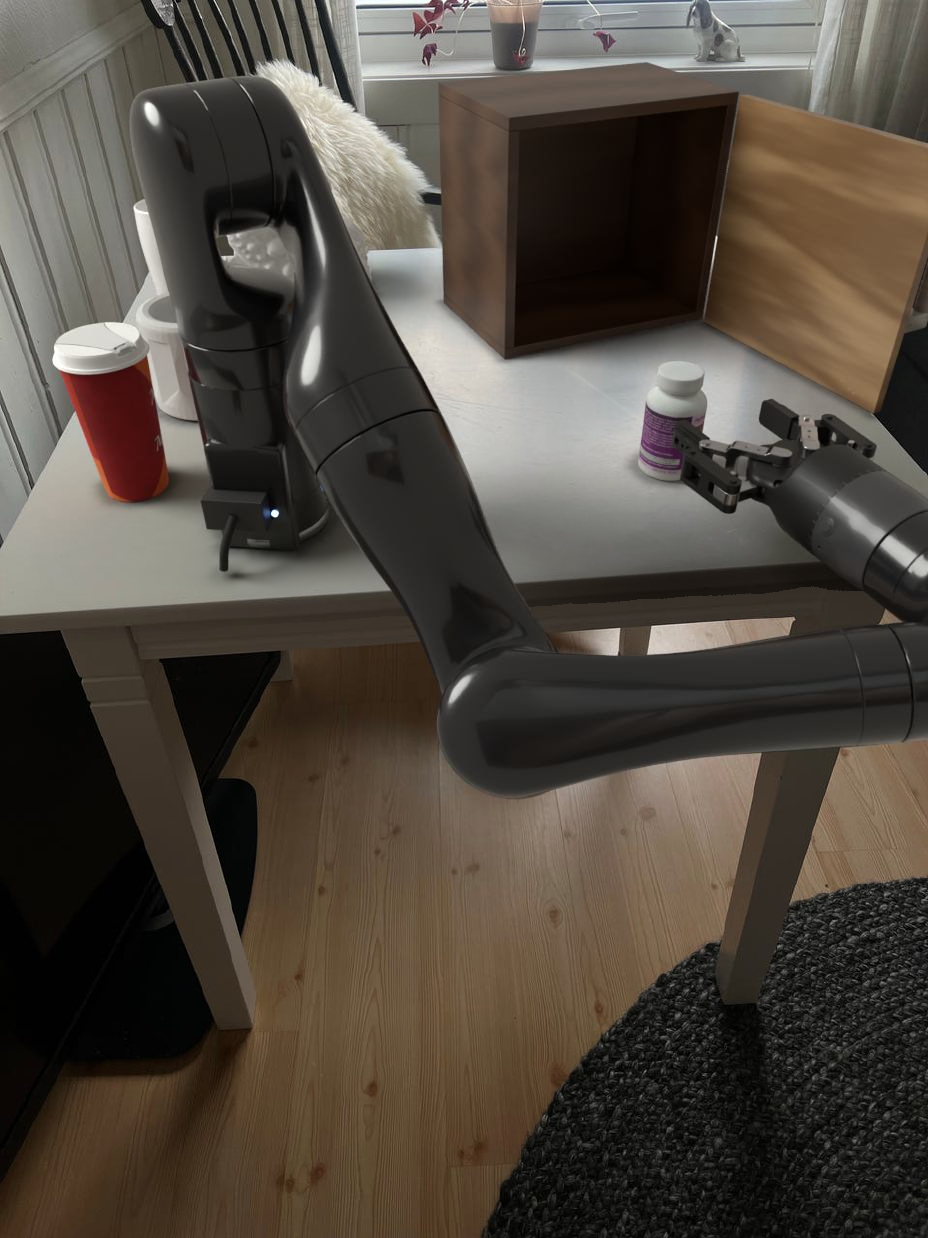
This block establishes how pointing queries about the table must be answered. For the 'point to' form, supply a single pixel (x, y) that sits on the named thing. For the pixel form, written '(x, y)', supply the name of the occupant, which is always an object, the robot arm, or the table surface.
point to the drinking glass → (150, 247)
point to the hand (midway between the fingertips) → (721, 419)
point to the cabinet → (580, 201)
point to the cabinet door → (822, 246)
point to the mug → (166, 357)
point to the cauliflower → (282, 248)
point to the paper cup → (115, 406)
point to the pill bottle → (670, 417)
